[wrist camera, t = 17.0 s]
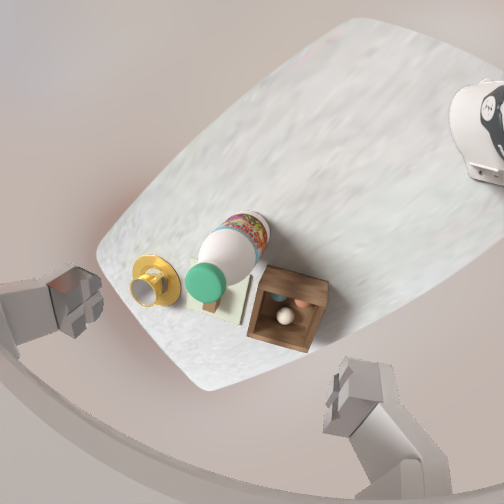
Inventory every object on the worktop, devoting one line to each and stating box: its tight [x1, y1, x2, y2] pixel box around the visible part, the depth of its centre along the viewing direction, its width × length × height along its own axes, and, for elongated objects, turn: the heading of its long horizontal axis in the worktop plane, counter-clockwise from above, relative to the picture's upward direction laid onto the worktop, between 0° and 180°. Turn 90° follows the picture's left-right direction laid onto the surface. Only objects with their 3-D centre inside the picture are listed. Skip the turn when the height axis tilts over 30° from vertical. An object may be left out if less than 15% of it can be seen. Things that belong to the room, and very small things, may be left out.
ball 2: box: [277, 307, 294, 325], centre depth 51 cm, size 3×3×3 cm
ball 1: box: [270, 292, 287, 302], centre depth 49 cm, size 3×3×3 cm
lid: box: [186, 257, 251, 325], centre depth 54 cm, size 12×12×4 cm
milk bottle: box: [185, 210, 270, 303], centre depth 40 cm, size 8×8×20 cm
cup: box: [130, 255, 181, 307], centre depth 56 cm, size 12×12×5 cm
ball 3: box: [295, 299, 311, 308], centre depth 49 cm, size 3×3×3 cm
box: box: [247, 265, 328, 353], centre depth 49 cm, size 11×11×7 cm
